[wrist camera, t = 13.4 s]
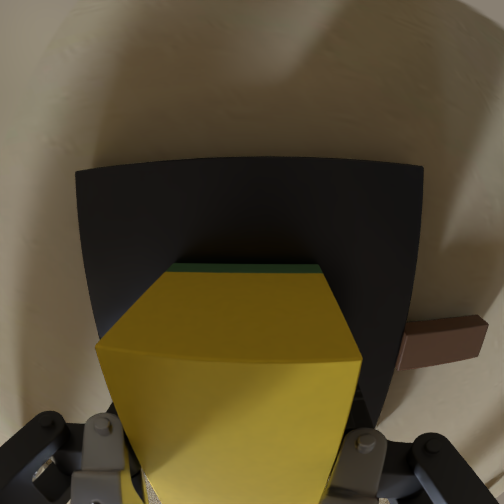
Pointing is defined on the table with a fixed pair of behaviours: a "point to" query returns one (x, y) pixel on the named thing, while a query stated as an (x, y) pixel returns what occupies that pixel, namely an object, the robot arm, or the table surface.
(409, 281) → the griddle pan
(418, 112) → the table surface
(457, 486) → the robot arm
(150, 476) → the sponge
